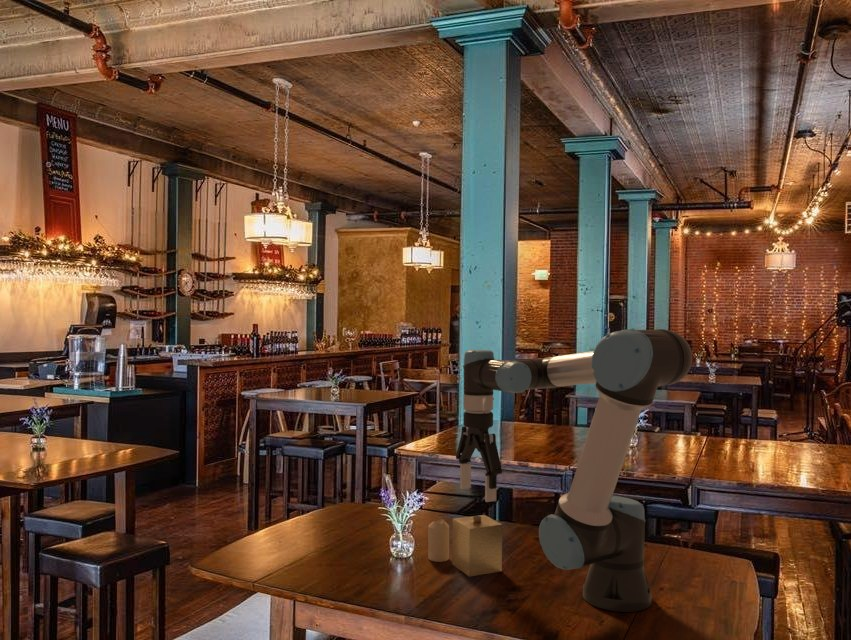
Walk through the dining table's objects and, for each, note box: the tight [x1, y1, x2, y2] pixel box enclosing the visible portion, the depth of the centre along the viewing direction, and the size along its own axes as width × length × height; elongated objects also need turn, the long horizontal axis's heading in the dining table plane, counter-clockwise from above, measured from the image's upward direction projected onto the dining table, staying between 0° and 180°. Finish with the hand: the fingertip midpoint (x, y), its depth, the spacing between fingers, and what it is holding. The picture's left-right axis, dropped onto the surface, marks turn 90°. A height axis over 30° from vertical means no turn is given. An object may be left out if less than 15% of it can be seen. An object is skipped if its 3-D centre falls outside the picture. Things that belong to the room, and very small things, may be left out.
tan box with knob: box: [451, 514, 503, 578], centre depth 187 cm, size 9×9×13 cm
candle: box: [427, 518, 450, 563], centre depth 194 cm, size 6×6×10 cm
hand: (477, 494), depth 187 cm, fingers open, 13 cm apart
